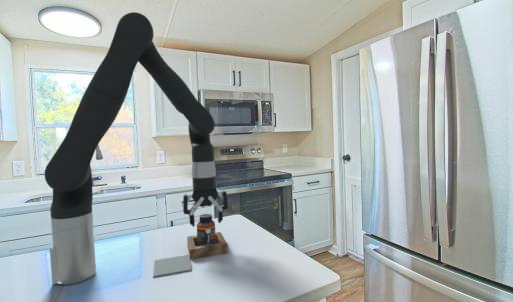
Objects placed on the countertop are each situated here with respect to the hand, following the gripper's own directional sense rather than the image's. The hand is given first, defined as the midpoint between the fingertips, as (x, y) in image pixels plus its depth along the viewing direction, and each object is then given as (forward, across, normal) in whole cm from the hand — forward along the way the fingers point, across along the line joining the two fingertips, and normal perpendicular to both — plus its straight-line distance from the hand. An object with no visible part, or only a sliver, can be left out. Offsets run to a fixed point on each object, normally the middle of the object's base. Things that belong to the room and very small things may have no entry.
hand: (206, 224), depth 89 cm
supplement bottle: (+9, 0, 0) cm, 9 cm away
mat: (+8, -11, -8) cm, 16 cm away
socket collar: (+8, 0, 0) cm, 8 cm away
